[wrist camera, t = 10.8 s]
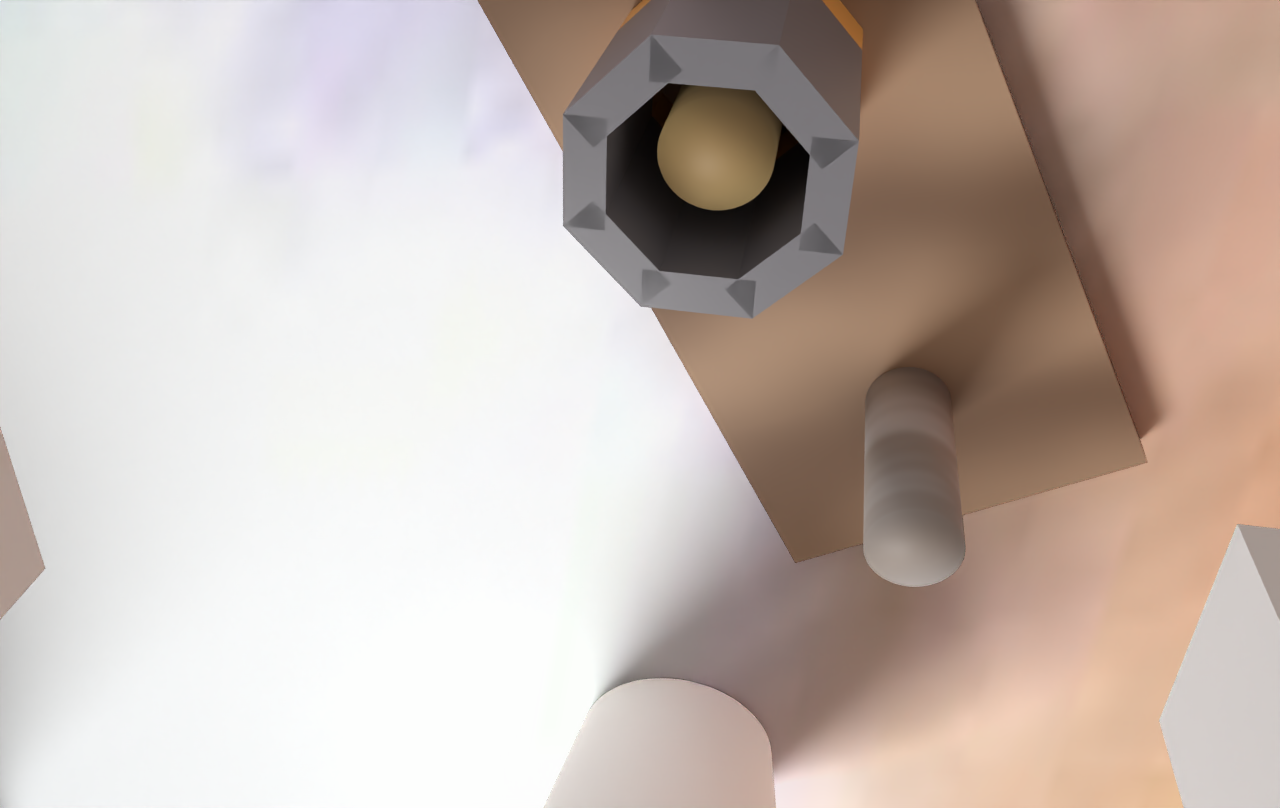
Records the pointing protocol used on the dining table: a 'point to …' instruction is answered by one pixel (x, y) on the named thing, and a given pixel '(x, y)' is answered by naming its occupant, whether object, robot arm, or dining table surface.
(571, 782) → the cup
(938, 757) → the dining table surface
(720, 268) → the sleeve
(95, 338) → the dining table surface
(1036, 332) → the pin board
